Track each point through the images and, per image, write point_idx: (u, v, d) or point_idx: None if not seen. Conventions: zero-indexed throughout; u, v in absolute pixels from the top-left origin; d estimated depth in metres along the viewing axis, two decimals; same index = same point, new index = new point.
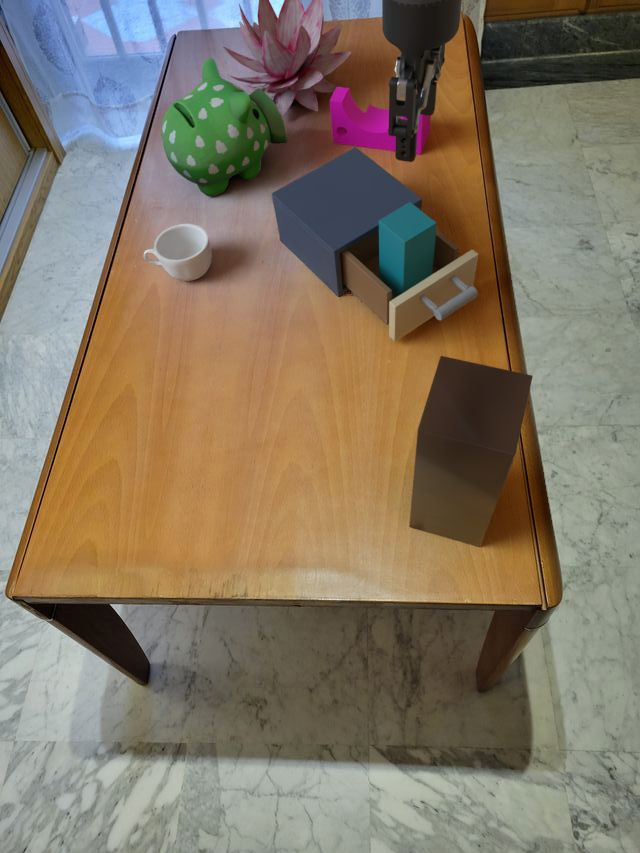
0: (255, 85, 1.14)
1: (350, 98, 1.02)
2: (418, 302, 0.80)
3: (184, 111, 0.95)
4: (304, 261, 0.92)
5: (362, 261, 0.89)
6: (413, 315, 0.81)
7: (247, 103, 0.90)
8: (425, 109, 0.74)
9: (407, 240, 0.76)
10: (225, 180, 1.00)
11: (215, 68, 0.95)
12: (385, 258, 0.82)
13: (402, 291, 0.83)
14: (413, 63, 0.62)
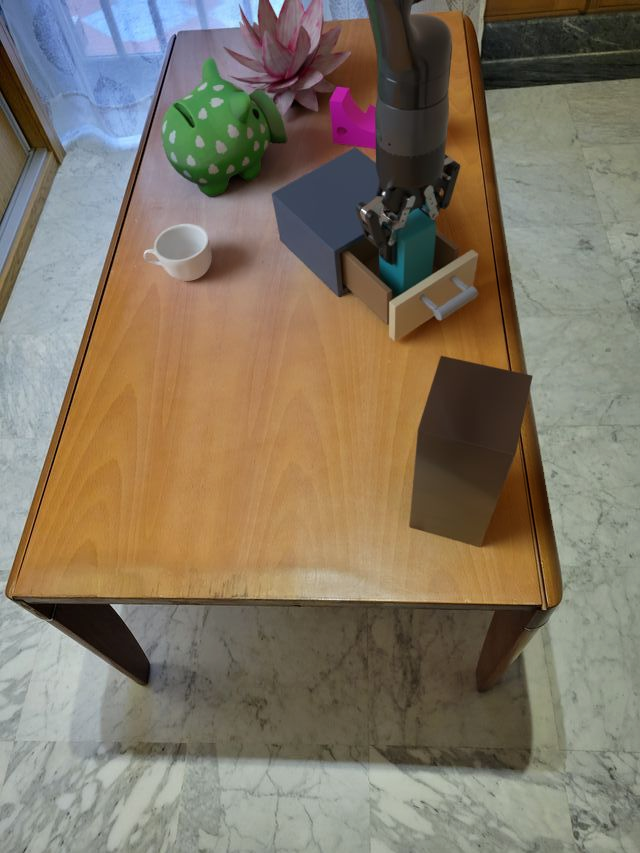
0: (255, 85, 1.14)
1: (350, 98, 1.02)
2: (418, 302, 0.80)
3: (184, 111, 0.95)
4: (304, 261, 0.92)
5: (362, 261, 0.89)
6: (413, 315, 0.81)
7: (247, 103, 0.90)
8: None
9: (407, 240, 0.76)
10: (225, 180, 1.00)
11: (215, 68, 0.95)
12: None
13: (402, 291, 0.83)
14: (385, 192, 0.70)
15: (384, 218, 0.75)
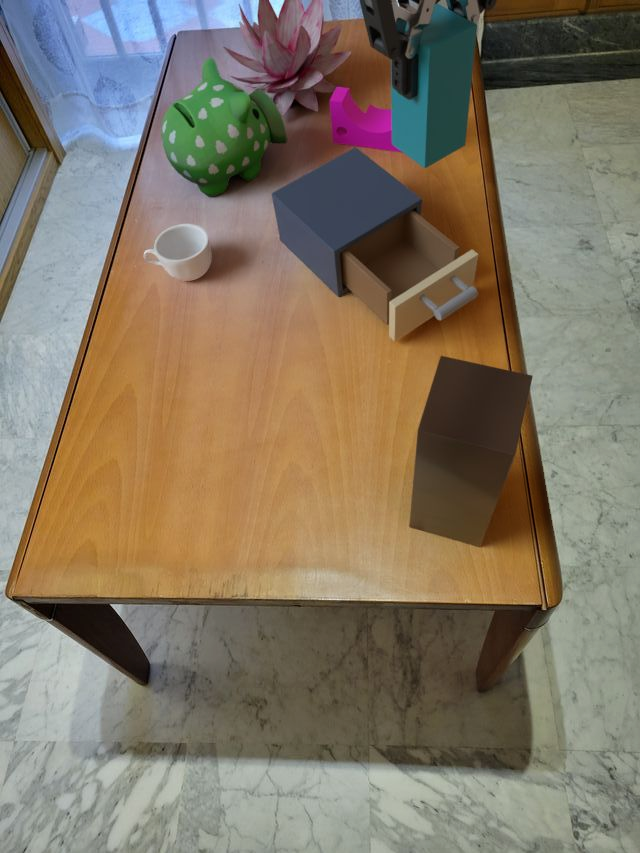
0: (255, 85, 1.14)
1: (350, 98, 1.02)
2: (418, 302, 0.80)
3: (184, 111, 0.95)
4: (304, 261, 0.92)
5: (362, 261, 0.89)
6: (413, 315, 0.81)
7: (247, 103, 0.90)
8: None
9: (433, 46, 0.50)
10: (225, 180, 1.00)
11: (215, 68, 0.95)
12: (399, 94, 0.56)
13: (424, 146, 0.58)
14: None
15: (400, 12, 0.50)
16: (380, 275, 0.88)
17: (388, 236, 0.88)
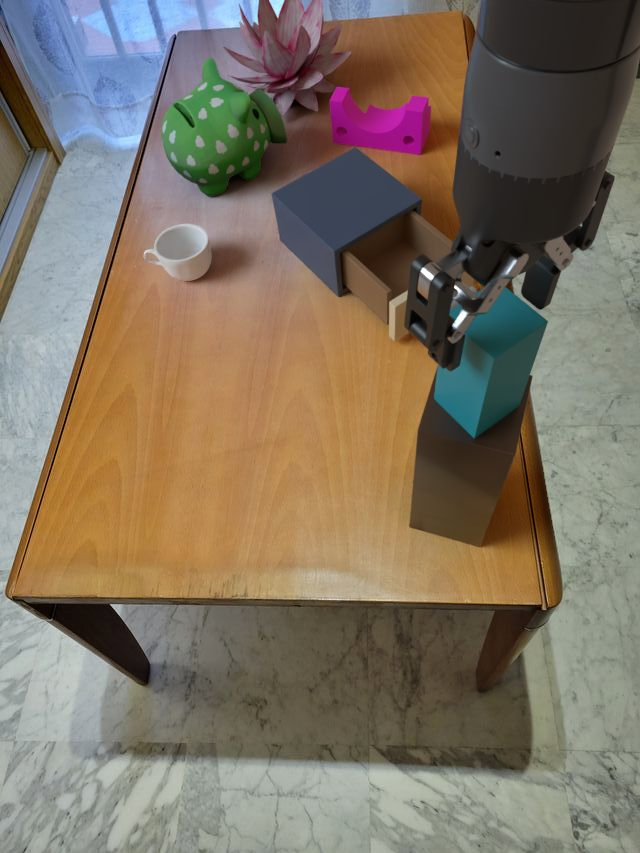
0: (255, 85, 1.14)
1: (350, 98, 1.02)
2: None
3: (184, 111, 0.95)
4: (304, 261, 0.92)
5: (362, 261, 0.89)
6: None
7: (247, 103, 0.90)
8: (533, 297, 0.45)
9: (498, 355, 0.42)
10: (225, 180, 1.00)
11: (215, 68, 0.95)
12: None
13: (476, 423, 0.50)
14: (471, 248, 0.35)
15: None
16: (380, 275, 0.88)
17: (388, 236, 0.88)
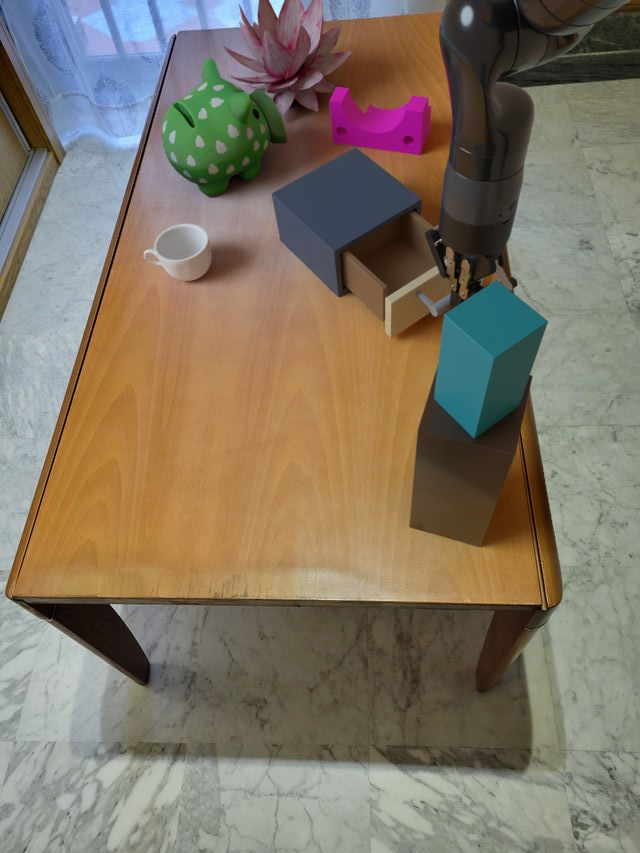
0: (255, 85, 1.14)
1: (350, 98, 1.02)
2: (414, 299, 0.80)
3: (184, 111, 0.95)
4: (304, 261, 0.92)
5: (359, 258, 0.89)
6: (409, 312, 0.82)
7: (247, 103, 0.90)
8: None
9: (498, 355, 0.42)
10: (225, 180, 1.00)
11: (215, 68, 0.95)
12: (449, 370, 0.48)
13: (476, 423, 0.50)
14: None
15: None
16: (376, 272, 0.88)
17: (384, 233, 0.89)
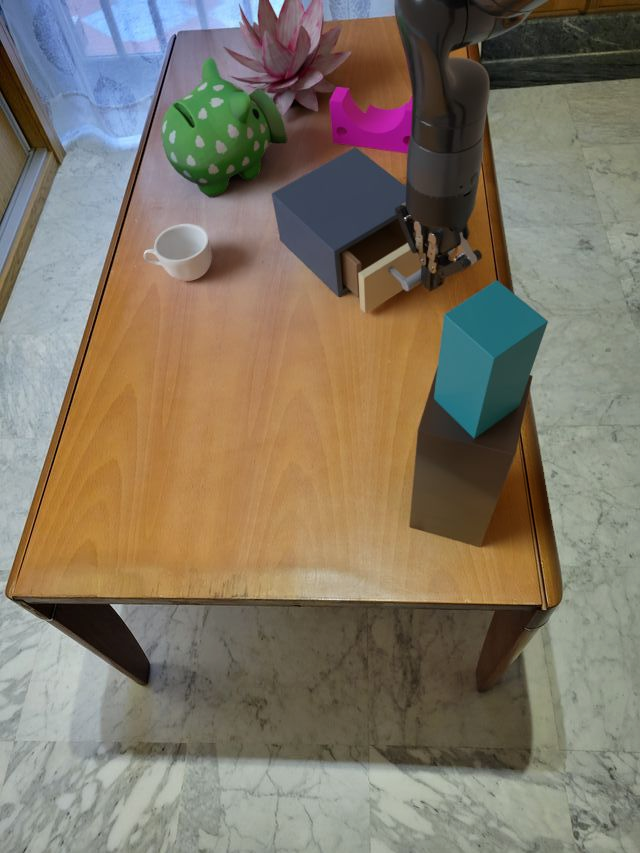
0: (255, 85, 1.14)
1: (350, 98, 1.02)
2: (387, 274, 0.83)
3: (184, 111, 0.95)
4: (304, 261, 0.92)
5: None
6: (383, 287, 0.84)
7: (247, 103, 0.90)
8: None
9: (498, 355, 0.42)
10: (225, 180, 1.00)
11: (215, 68, 0.95)
12: (449, 370, 0.48)
13: (476, 423, 0.50)
14: None
15: None
16: (353, 250, 0.91)
17: None
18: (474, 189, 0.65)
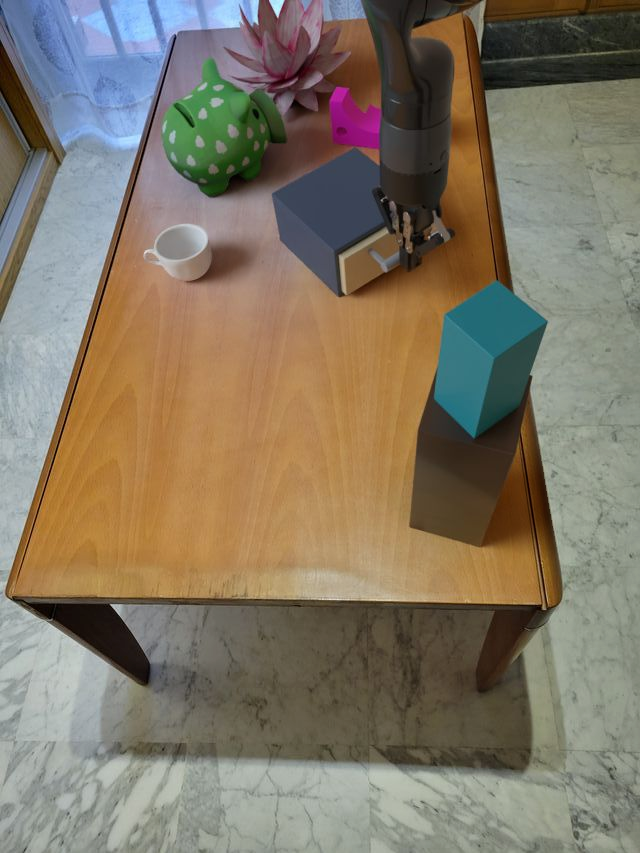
0: (255, 85, 1.14)
1: (350, 98, 1.02)
2: (367, 256, 0.85)
3: (184, 111, 0.95)
4: (304, 261, 0.92)
5: None
6: (363, 269, 0.86)
7: (247, 103, 0.90)
8: None
9: (498, 355, 0.42)
10: (225, 180, 1.00)
11: (215, 68, 0.95)
12: (449, 370, 0.48)
13: (476, 423, 0.50)
14: None
15: None
16: None
17: None
18: (444, 167, 0.67)
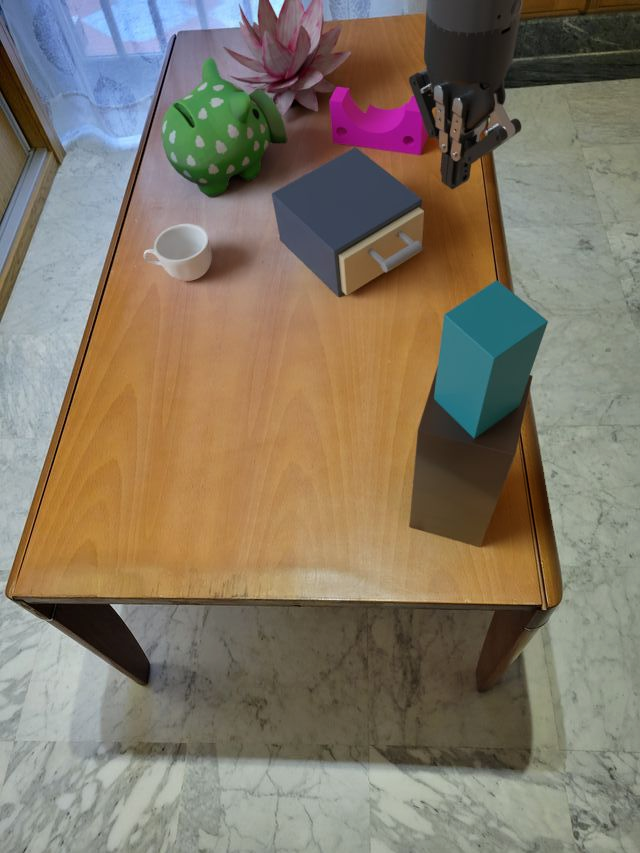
0: (255, 85, 1.14)
1: (350, 98, 1.02)
2: (367, 256, 0.85)
3: (184, 111, 0.95)
4: (304, 261, 0.92)
5: None
6: (363, 269, 0.86)
7: (247, 103, 0.90)
8: None
9: (498, 355, 0.42)
10: (225, 180, 1.00)
11: (215, 68, 0.95)
12: (449, 370, 0.48)
13: (476, 423, 0.50)
14: None
15: None
16: None
17: None
18: (515, 26, 0.50)
